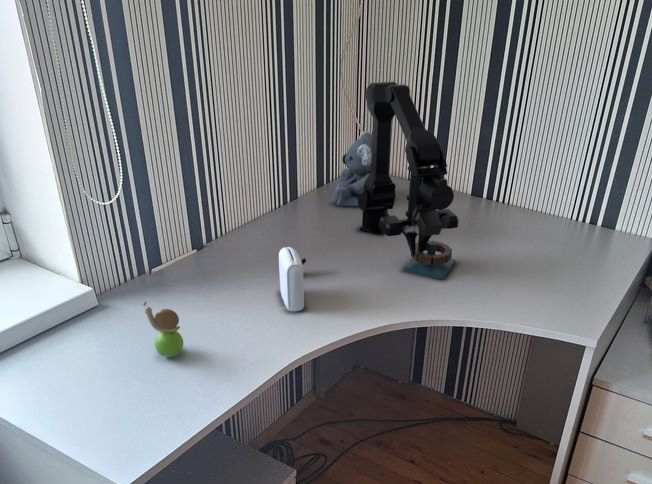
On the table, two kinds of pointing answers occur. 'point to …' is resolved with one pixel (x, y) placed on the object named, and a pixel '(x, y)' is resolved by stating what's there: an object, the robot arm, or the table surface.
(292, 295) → the white toy toaster
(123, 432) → the table surface
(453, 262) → the post stand
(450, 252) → the ring
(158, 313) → the snail figurine
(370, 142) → the koala plush
